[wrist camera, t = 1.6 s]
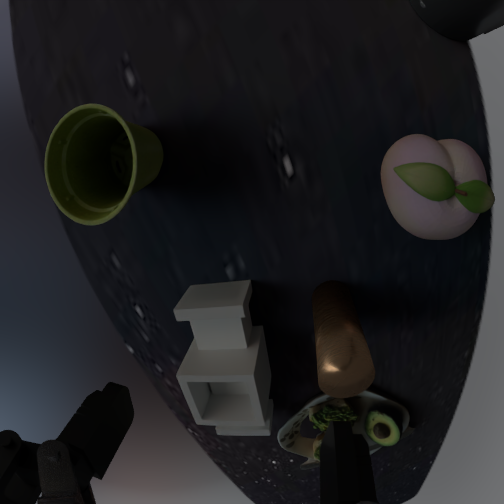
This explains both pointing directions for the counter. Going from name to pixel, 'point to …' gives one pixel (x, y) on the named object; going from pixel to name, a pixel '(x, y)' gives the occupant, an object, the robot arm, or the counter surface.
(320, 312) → the brown rounded rod
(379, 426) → the salad plate
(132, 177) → the plant pot
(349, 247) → the counter surface
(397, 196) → the decorative fruit
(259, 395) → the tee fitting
